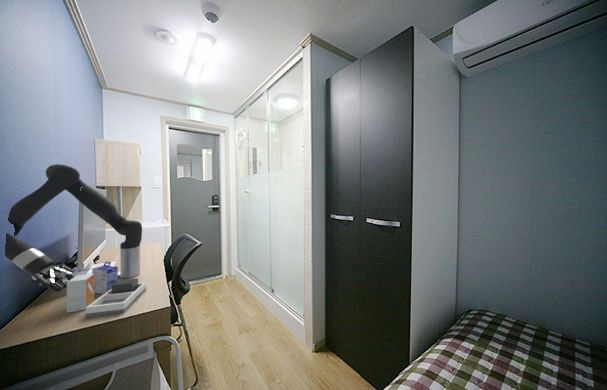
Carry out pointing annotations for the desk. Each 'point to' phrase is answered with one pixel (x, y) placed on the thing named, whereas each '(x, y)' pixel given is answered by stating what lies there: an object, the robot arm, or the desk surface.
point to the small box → (80, 292)
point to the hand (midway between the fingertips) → (69, 285)
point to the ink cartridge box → (104, 277)
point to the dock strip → (117, 298)
